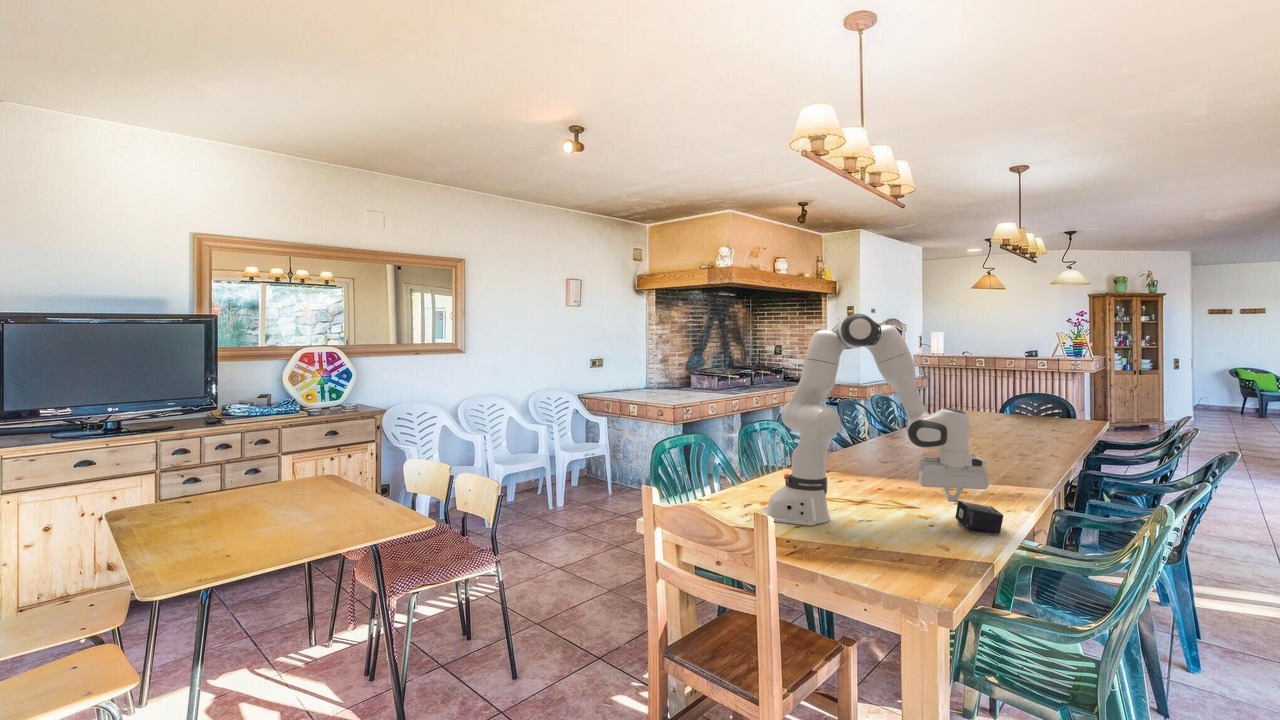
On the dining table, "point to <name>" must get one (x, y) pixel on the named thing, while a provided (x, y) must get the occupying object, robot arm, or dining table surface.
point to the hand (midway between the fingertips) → (952, 501)
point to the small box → (979, 517)
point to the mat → (979, 531)
